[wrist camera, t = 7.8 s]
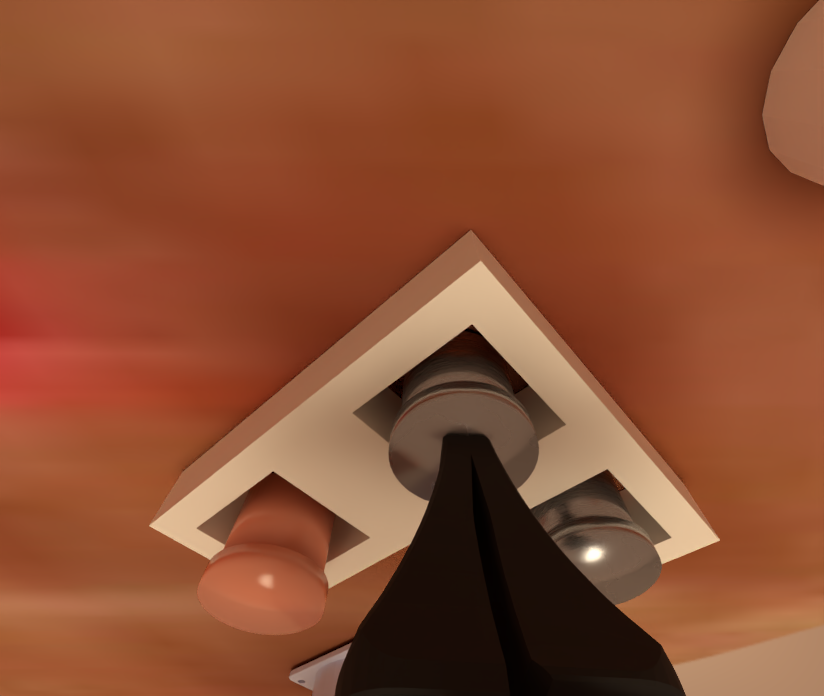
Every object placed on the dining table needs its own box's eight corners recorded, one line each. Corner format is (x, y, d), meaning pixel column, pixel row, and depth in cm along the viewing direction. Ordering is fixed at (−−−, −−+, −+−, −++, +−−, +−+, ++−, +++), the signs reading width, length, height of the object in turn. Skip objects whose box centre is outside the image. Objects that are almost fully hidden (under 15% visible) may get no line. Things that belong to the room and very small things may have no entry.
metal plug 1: (537, 379, 17) (568, 462, 14) (447, 437, 19) (452, 524, 15) (463, 300, 16) (476, 369, 12) (372, 370, 17) (357, 450, 14)
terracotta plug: (364, 507, 20) (350, 607, 16) (298, 548, 21) (271, 647, 18) (285, 450, 18) (248, 547, 14) (220, 499, 20) (172, 597, 16)
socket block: (683, 483, 21) (720, 540, 18) (407, 612, 27) (406, 668, 24) (470, 229, 15) (480, 260, 12) (182, 471, 21) (148, 525, 18)
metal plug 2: (635, 486, 20) (683, 579, 16) (550, 528, 22) (576, 620, 18) (582, 429, 19) (622, 517, 15) (494, 479, 20) (510, 569, 16)
